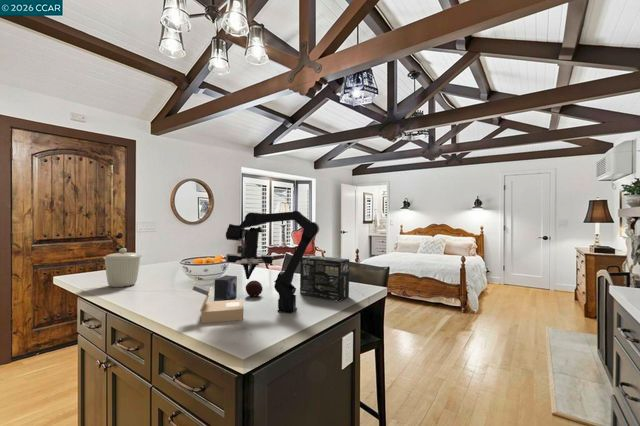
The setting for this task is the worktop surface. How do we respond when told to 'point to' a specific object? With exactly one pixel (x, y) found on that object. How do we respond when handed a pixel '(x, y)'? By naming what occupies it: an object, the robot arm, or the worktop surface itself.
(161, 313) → the worktop surface
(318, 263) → the box
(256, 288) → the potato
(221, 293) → the small box
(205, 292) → the flap
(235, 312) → the carton
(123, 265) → the canister
